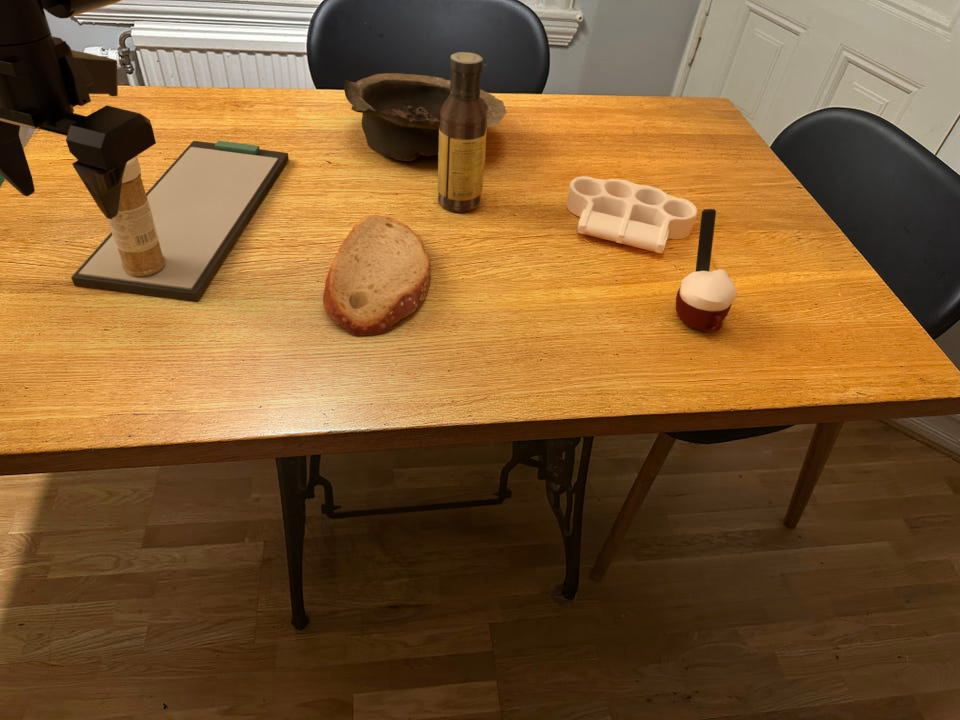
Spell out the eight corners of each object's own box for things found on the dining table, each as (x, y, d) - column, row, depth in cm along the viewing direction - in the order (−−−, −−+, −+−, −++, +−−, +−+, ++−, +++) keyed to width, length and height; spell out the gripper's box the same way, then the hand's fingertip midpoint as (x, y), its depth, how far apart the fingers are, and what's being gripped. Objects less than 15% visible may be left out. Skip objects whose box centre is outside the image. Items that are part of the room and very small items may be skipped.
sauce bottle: (489, 202, 99) (505, 59, 85) (462, 219, 95) (475, 71, 81) (453, 186, 101) (464, 44, 87) (426, 202, 97) (432, 55, 84)
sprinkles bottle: (157, 250, 81) (127, 141, 72) (172, 270, 78) (143, 160, 69) (116, 262, 79) (80, 151, 70) (130, 283, 76) (94, 171, 67)
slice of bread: (385, 220, 93) (384, 195, 90) (478, 285, 84) (481, 259, 82) (266, 268, 83) (262, 241, 80) (358, 347, 74) (357, 321, 72)
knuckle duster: (552, 233, 94) (574, 184, 105) (684, 266, 91) (694, 213, 102) (556, 211, 92) (578, 164, 102) (692, 245, 89) (701, 192, 99)
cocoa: (722, 349, 80) (761, 262, 71) (668, 337, 80) (699, 250, 72) (721, 300, 86) (756, 216, 78) (670, 289, 87) (700, 205, 79)
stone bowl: (345, 177, 99) (341, 112, 93) (347, 115, 118) (345, 57, 113) (515, 178, 103) (522, 116, 97) (491, 117, 122) (495, 62, 116)
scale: (198, 302, 77) (194, 287, 76) (73, 285, 77) (68, 271, 76) (289, 160, 102) (287, 147, 101) (194, 148, 102) (192, 135, 101)
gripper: (175, 26, 60) (207, 189, 70) (-8, -14, 63) (50, 148, 73) (83, 69, 52) (134, 246, 62) (-121, 21, 55) (-39, 197, 65)
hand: (70, 205), depth 66 cm, fingers open, 9 cm apart
